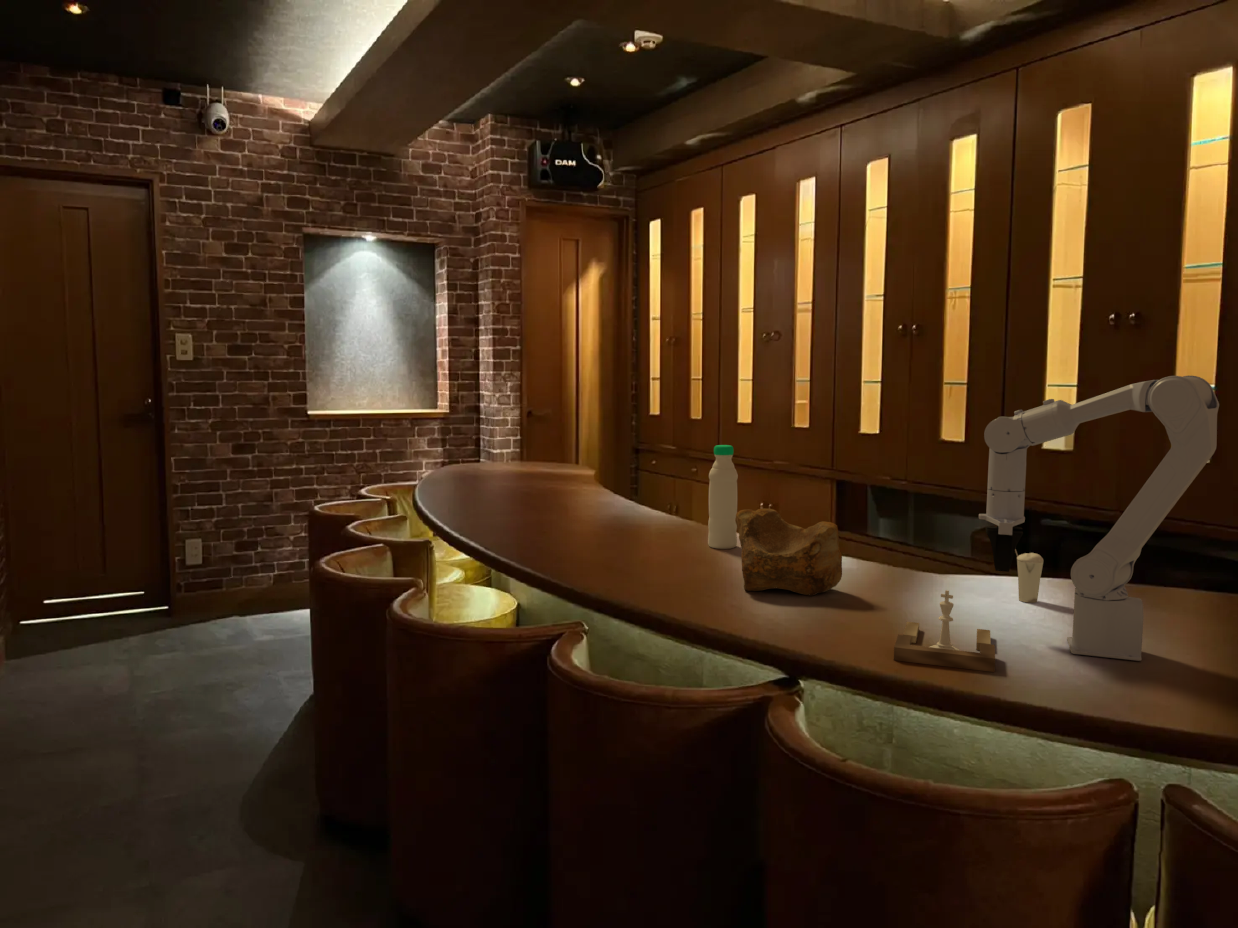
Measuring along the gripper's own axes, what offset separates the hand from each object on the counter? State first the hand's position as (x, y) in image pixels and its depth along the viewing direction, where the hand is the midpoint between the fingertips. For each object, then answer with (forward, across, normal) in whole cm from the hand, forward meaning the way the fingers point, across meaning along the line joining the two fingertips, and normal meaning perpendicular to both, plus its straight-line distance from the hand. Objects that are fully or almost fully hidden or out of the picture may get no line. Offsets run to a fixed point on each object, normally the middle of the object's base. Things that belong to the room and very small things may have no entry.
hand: (1002, 570), depth 149 cm
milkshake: (+10, -23, +5) cm, 26 cm away
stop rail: (+10, +20, -8) cm, 23 cm away
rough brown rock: (+10, -14, -41) cm, 45 cm away
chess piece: (+10, +17, -8) cm, 22 cm away
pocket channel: (+10, +9, -8) cm, 16 cm away
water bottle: (+10, -51, -62) cm, 81 cm away
